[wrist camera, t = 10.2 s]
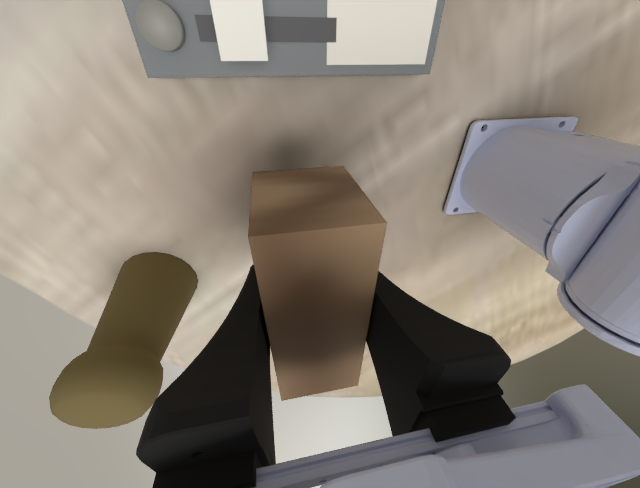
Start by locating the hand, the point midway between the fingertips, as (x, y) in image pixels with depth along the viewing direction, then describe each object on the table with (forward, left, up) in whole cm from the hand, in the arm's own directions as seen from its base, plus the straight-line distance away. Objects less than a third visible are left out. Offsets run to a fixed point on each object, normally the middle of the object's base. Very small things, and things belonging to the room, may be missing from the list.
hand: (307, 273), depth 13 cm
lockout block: (0, 0, -2) cm, 2 cm away
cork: (+12, +7, -10) cm, 17 cm away
